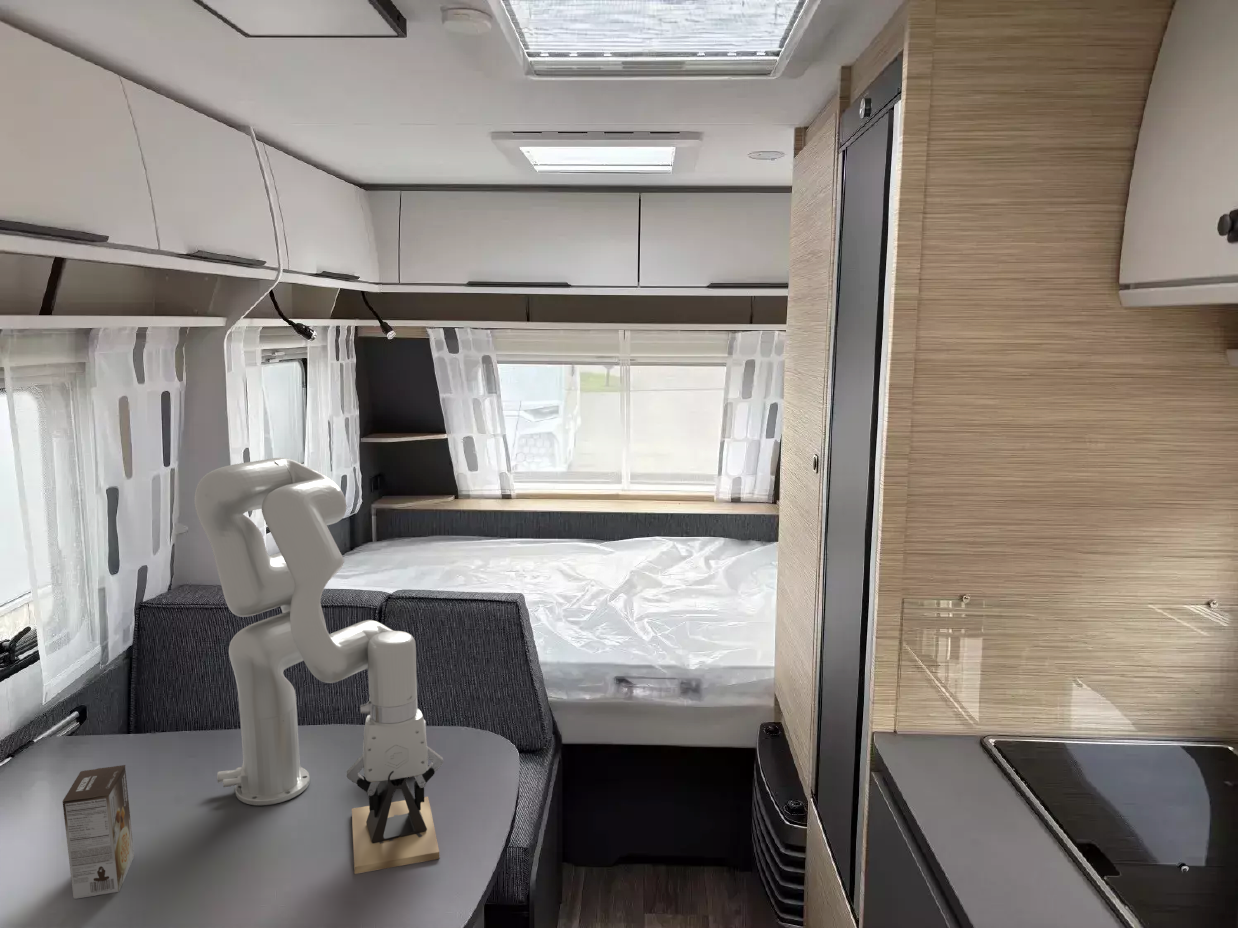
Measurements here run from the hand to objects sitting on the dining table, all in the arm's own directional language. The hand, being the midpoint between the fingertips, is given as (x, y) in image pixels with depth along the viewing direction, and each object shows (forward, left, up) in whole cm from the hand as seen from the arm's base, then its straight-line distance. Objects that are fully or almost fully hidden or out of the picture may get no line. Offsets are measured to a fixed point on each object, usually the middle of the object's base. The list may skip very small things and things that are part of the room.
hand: (397, 808), depth 145 cm
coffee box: (-44, +2, -5) cm, 44 cm away
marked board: (-1, 0, -5) cm, 5 cm away
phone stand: (0, 0, -4) cm, 4 cm away
